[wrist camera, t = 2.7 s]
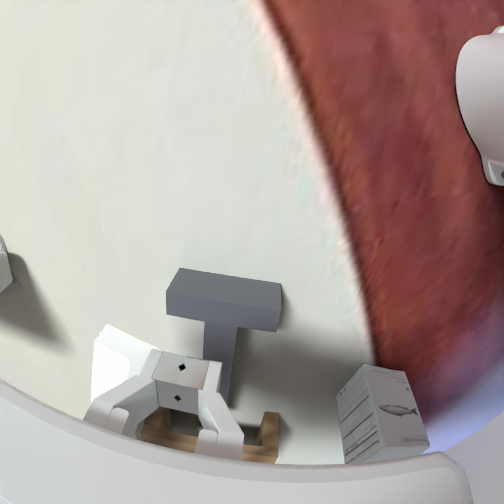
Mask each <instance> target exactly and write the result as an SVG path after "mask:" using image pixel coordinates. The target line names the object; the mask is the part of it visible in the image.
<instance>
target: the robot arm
mask: <svg viewBox="0 0 504 504" xmlns="http://www.w3.org/2000/svg"><path fill="white" fill-rule="evenodd" d="M456 90H457V97H458V102H459V106H460V110H461V114H462V117H463V120H464V122H465V125H466V127H467V130H468V132H469V134H470V136H471V138H472V139H473V141H474V143H475V144H476V146H477V148H478V150H479V152H480V154H481V157H482V162H483V168H484V172H485V176H486V179H487V180H488V182H489V183H492V184H495V185H501V186H504V26H499V27H497V28H496V29H495V30H494V31H493V32H492V34H489V35H480V36H476V37H474V38H472V39H470V40H469V41H468V42H467V43H466V44H465V45H464V46H463V48H462V50H461V52H460V54H459V58H458V61H457V67H456ZM501 174H502V176H501ZM221 372H222V362H216V361H210V360H204V359H198V358H193V357H186V356H182V355H177V354H173V353H169V352H165V351H160V350H156V349H152V350H151V351H150V352H149V355H148V357H147V359H146V361H145V363H144V365H143V367H142V370H141V372H140V374H139V376H138V375H135V376H133V377H131V378H129V379H128V380H126V381H124V382H122V383H121V384H119V385H117V386H115V387H114V388H112V389H110V390H108V391H107V392H105V393H103V394H101V395H99V396H98V397H96V398H94V399H93V401H92V403H91V405H90V407H89V409H88V411H87V413H86V415H85V417H84V419H83V420H80V419H78V418H76V417H73V416H71V415H69V414H66V413H64V412H62V411H60V410H58V409H55V408H53V407H51V406H49V405H47V404H45V403H43V402H41V401H39V400H37V399H35V398H33V397H31V396H29V395H28V394H26V393H24V392H22V391H20V390H19V389H17V388H15V387H13V386H12V385H10V384H8V383H7V382H5V381H3V380H2V379H0V504H473V499H472V494H471V489H470V485H469V482H468V478H467V475H466V472H465V470H464V469H463V468H462V467H461V466H460V465H459V464H458V463H457V462H456V461H454V460H453V459H452V458H450V457H449V456H448V455H446V454H445V453H443V452H432V453H427V454H422V455H417V456H411V457H405V458H399V459H392V460H384V461H376V462H366V463H353V464H334V465H291V464H271V463H259V462H248V461H242V451H243V441H244V433H243V432H242V430H241V429H240V427H239V425H238V424H237V422H236V420H235V418H234V417H233V415H232V413H231V412H230V410H229V408H228V406H227V405H226V403H225V401H224V399H223V398H222V396H221V394H220V393H219V388H220V381H221ZM159 406H161V407H165V408H170V409H175V410H180V411H184V412H188V413H193V414H197V415H198V416H199V419H200V421H201V423H202V426H203V428H204V429H202V430H200V431H199V436H198V440H197V444H196V448H195V453H190V452H185V451H180V450H176V449H171V448H167V447H163V446H159V445H155V444H152V443H148V442H144V441H141V440H138V439H137V436H136V433H135V430H134V427H135V426H136V425H137V424H139V423H140V422H141V421H142V420H144V419H145V418H146V417H147V416H149V415H150V414H151V413H152V412H154V411H155V410H156V409H157V408H159Z"/></svg>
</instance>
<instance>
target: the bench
mask: <svg viewBox="0 0 504 504" xmlns="http://www.w3.org/2000/svg"><path fill="white" fill-rule="evenodd" d="M278 420H279V413H271V412H265V413H264V416H263V419H262V422H261V425H260V428H259V431H258V434H257V437H256V440H255V446H254V445H245V444H243V451H242V461H248V462H259V463H271V464H274V463H275V461H276V459H277V457H278ZM172 429H173V425H172V417H171V410H170V408H165V407H161V406H159V408H157V409H156V410H155V411H154V412H152V413H151V414H150V415H149V416H147V418H146V420H145V423H144V426H143V429H142V432H141V434H142V437H143V440H144V442H148V443H152V444H155V445H159V446H163V447H167V448H171V449H176V450H180V451H185V452H190V453H195V448H196V444H197V440H198V437H195V436H190V435H185V434H180V433H176V432H172Z"/></svg>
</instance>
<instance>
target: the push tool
mask: <svg viewBox="0 0 504 504" xmlns="http://www.w3.org/2000/svg"><path fill="white" fill-rule="evenodd" d="M166 310H167V315H172V316H178V317H183V318H188V319H193V320H199V321H205V328H204V348H203V359H204V360H210V361H216V362H222V372H221V381H220V388H219V393H220V394H221V396H222V398H223V399H224V401H225V403H226V405H227V401H228V394H229V387H230V380H231V373H232V366H233V358H234V351H235V344H236V337H237V330H238V327H241V328H248V329H255V330H262V331H269V332H276V331H277V327H278V323H279V319H280V315H281V283H274V282H267V281H260V280H254V279H247V278H240V277H234V276H227V275H221V274H215V273H209V272H202V271H196V270H190V269H184V268H179V270H178V272H177V273H176V275H175V277H174V279H173V280H172V282H171V284H170V286H169V287H168V289H167V291H166Z"/></svg>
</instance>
